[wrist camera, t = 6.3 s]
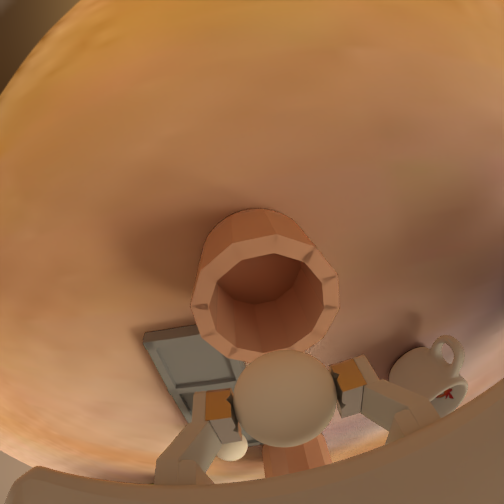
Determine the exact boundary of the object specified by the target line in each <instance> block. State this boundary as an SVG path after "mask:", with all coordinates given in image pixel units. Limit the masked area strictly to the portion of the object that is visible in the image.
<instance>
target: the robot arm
mask: <svg viewBox="0 0 504 504" xmlns="http://www.w3.org/2000/svg"><path fill="white" fill-rule="evenodd" d="M329 372H330V374H331V375H332V377H333V380H334V383H335V386H336V391H337V409H338V411H339V413H340V416H341V418H344V417H348V416H351V415H354V414H357V413H361V414H363V415H364V416H366V417H367V418H369V419H370V420H372V421H373V422H375V423H376V424H378V425H380V426H381V427H383V428H384V429H386V430H387V431H389V435H388V437H387V440H386V443H385V445H383V446H381V447H378V448H376V449H373V450H370V451H368V452H365V453H362V454H359V455H356V456H353V457H350V458H347V459H344V460H341V461H338V462H334V463H331V464H327V465H324V466H320V467H316V468H312V469H308V470H304V471H300V472H295V473H291V474H286V475H281V476H275V477H270V478H264V479H257V480H250V481H242V482H233V483H222V484H214V483H213V481H212V480H211V479H210V478H209V477H208V476H207V475H206V471H207V470H208V468H209V466H210V465H211V463H212V462H213V460H214V458H215V457H216V455H217V453H218V451H219V450H220V448H221V446H222V444H225V443H232V442H238V441H242V433H241V427H240V424H239V421H238V420H237V418H236V415H235V412H234V407H233V391H232V389H231V388H224V389H217V390H208V391H201V392H195V393H194V396H193V409H192V423H188V424H187V425H186V426H185V427H184V429H183V430H182V431H181V432H180V433H179V435H178V436H177V437H176V438H175V439H174V440H173V442H172V443H171V444H170V445H169V446H168V447H167V448H166V450H165V451H164V452H163V453H162V454H161V455H160V456H159V458H158V459H157V461H156V469H155V477H154V485H150V484H135V483H125V482H116V481H108V480H101V479H95V478H89V477H84V476H79V475H74V474H70V473H65V472H61V471H57V470H53V469H49V468H46V467H42V466H36V467H34V468H32V469H30V470H29V471H28V472H26V473H25V474H24V475H22V476H21V477H19V478H18V479H17V480H16V481H15V482H14V483H13V485H12V487H11V489H10V491H9V493H8V496H7V498H6V501H5V503H4V504H504V378H503V379H501V380H500V381H499V382H497V383H496V384H495V385H493V386H492V387H490V388H489V389H488V390H486V391H485V392H483V393H482V394H480V395H479V396H477V397H476V398H474V399H473V400H471V401H470V402H468V403H466V404H465V405H463V406H461V407H460V408H458V409H456V410H455V411H453V412H451V413H450V414H448V415H446V416H444V417H443V418H441V417H440V416H439V414H438V413H437V411H436V410H435V408H434V407H433V405H432V404H431V402H430V401H429V399H428V398H426V397H424V396H421V395H419V394H417V393H414V392H412V391H410V390H407V389H405V388H403V387H400V386H398V385H396V384H393V383H391V382H389V381H387V380H384V379H381V380H380V379H379V378H378V376H377V374H376V373H375V371H374V370H373V368H372V366H371V365H370V363H369V361H368V360H367V358H366V357H365V356H364V355H361V356H358V357H355V358H352V359H348V360H345V361H342V362H338V363H335V364H332V365H329Z"/></svg>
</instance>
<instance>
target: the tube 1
mask: <svg viewBox="0 0 504 504" xmlns="http://www.w3.org/2000/svg"><path fill="white" fill-rule="evenodd" d="M190 307H191V310H192V313H193V316H194V318H195V321H196V324H197V327H198V330H199V332H200V335H201V338H203V339H204V340H205V341H206V342H208V343H209V344H210V345H211V346H213V347H214V348H215V349H216V350H218V351H219V352H220V353H222V354H223V355H224V356H225V357H227V358H230V359H234V360H239V361H244V362H249V363H251V362H252V361H254V360H255V359H256V358H258V357H260V356H262V355H264V354H266V353H269V352H273V351H277V350H296V351H301V352H304V351H305V350H307V349H308V348H310V347H311V346H312V345H314V344H315V343H317V342H318V341H319V340H321V339H322V338H324V336H325V334H326V332H327V331H328V329H329V327H330V325H331V323H332V322H333V320H334V318H335V316H336V314H337V312H338V310H339V308H340V302H339V282H338V274H337V273H336V271H335V270H334V269H333V268H332V266H331V265H330V264H329V263H328V261H327V260H326V259H325V258H324V256H323V255H322V254H321V253H320V251H319V250H318V249H317V248H316V246H315V245H314V244H313V243H312V242H311V240H310V239H309V238H308V237H307V236H306V234H305V233H304V232H303V230H302V229H301V228H300V227H299V226H298V225H297V224H296V223H295V221H294V220H293V219H291V218H289V217H287V216H286V215H284V214H282V213H279V212H277V211H273V210H269V209H262V208H255V209H247V210H243V211H239V212H237V213H234V214H232V215H230V216H228V217H227V218H225V219H223V220H222V221H221V222H220V223H218V224H217V225H216V226H215V228H214V229H213V230H212V231H211V233H210V234H209V235H208V236H207V239H206V241H205V244H204V246H203V250H202V254H201V259H200V262H199V266H198V271H197V275H196V280H195V285H194V290H193V295H192V299H191V304H190Z"/></svg>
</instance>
